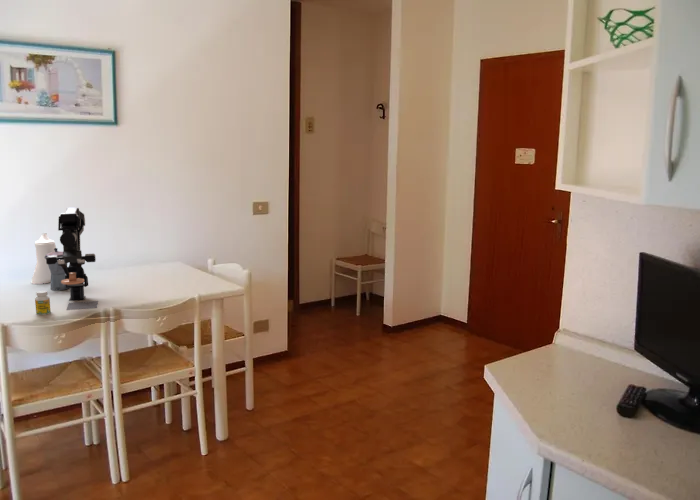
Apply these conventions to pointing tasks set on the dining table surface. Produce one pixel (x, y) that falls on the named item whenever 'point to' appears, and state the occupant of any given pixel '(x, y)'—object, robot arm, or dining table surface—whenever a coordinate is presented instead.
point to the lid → (72, 279)
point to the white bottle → (43, 260)
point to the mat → (82, 305)
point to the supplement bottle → (42, 303)
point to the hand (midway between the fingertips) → (72, 278)
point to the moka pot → (56, 272)
